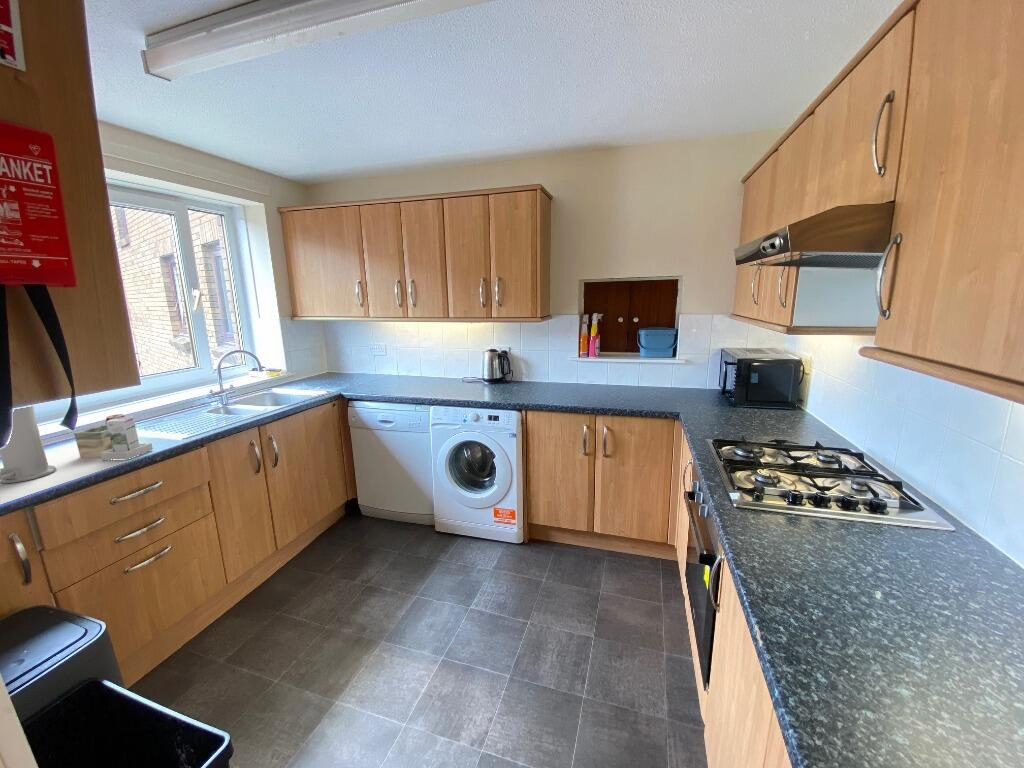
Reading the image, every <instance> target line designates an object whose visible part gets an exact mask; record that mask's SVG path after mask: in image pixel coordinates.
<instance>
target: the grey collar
mask: <svg viewBox="0 0 1024 768" xmlns="http://www.w3.org/2000/svg"><path fill="white" fill-rule="evenodd" d="M139 444H140V447H138V448H135V449H132V450H130V451H127V452H113V449H110V450H107V451H104V452H101V453H100V454H101V457H100V458H101V461H102V460H106V461H114V460H113V459H129V458H132V457H134V456H137V455H140V454H142V453H145V452H148V451H150V450H152V449H154V448H153V444H152V442H139ZM150 452H151V451H150ZM148 453H149V452H148ZM145 454H146V453H145ZM140 456H141V455H140ZM137 457H138V456H137ZM111 459H112V460H111ZM132 459H133V458H132Z"/></svg>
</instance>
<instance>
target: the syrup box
mask: <svg viewBox="0 0 1024 768" xmlns="http://www.w3.org/2000/svg"><path fill="white" fill-rule="evenodd" d="M105 421H106V420H105ZM106 424H107V428H108V432H109V436H110V440H111V444H112V448H113V452H127V451H130V450H132V449H135V448H138V447H140V444H139V443H140V440H139V438H138V433H137V427H136V423H135V419H134V416H125V417H120V418H114V419H111V420H109V421H106V422H105V425H106Z"/></svg>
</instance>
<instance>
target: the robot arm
mask: <svg viewBox="0 0 1024 768" xmlns="http://www.w3.org/2000/svg"><path fill="white" fill-rule="evenodd" d="M137 361H138V362H139V368H140V366H141V363H142V362H141V361H139V360H137ZM35 414H36V413H35V408H34V405H33V406H31V407H26V408H20V409H15V410H14V412H13V430H12V434H11V438H10V441H9V443H8V445H7V446H6V447H5V448H3V449H1V450H0V459H1V462H2V466H3V467H2V468H0V483H1V484H14V483H22V482H27V481H30V480H34V479H39V478H42V477H44V476H47V475H50V474H52V473H55V471H56V470H57V467H56V466H55V465H52V464H51V465H49V463H48V460H47V455H46V452H45V449H44V446H43V445H44V444H43V442H42V441H43V440H42V438H41V434H40V430H39V426H38V423H37V420H36V415H35Z"/></svg>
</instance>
